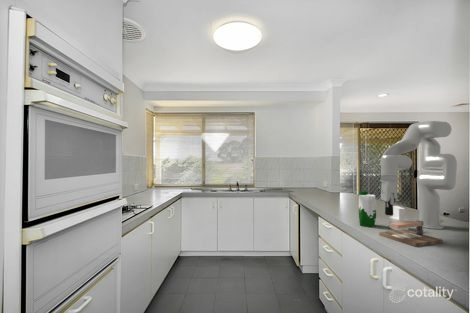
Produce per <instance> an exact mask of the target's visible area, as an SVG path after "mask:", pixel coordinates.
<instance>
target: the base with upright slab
mask: <svg viewBox="0 0 470 313" xmlns="http://www.w3.org/2000/svg"><path fill="white" fill-rule="evenodd" d="M388 219H389V220H388V222H389V223H388V224H389V226H388V227H389V229H390V228H391V229H390V230H393V229H394V230H393V231H395V230H403V229H405V230H409V229H410V227H408V228H399V229H397V228H393V227H390V223H396V222H406V221H409V218H408V217H406V208H404V207H402V206H399V205H393V215H390V216H389V218H388ZM409 231H410V230H409Z"/></svg>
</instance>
